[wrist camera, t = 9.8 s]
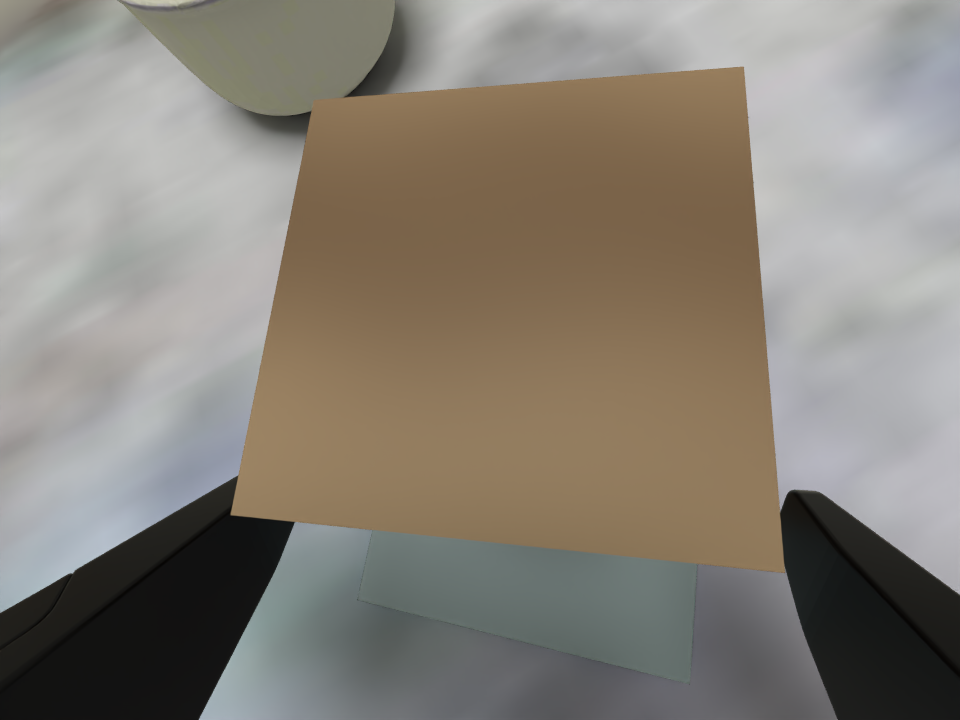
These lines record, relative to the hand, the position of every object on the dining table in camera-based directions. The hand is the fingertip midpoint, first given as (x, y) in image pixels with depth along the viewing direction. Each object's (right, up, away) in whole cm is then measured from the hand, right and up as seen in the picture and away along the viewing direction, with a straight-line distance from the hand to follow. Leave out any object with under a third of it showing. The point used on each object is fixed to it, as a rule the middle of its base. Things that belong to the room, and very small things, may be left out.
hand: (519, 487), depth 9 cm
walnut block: (+2, 0, +8) cm, 8 cm away
